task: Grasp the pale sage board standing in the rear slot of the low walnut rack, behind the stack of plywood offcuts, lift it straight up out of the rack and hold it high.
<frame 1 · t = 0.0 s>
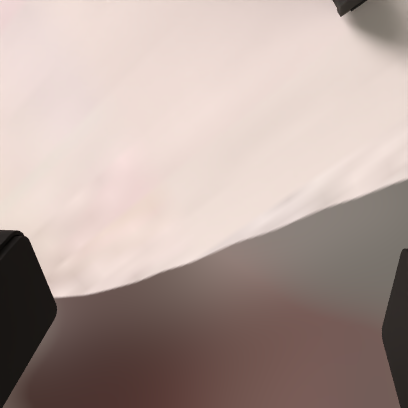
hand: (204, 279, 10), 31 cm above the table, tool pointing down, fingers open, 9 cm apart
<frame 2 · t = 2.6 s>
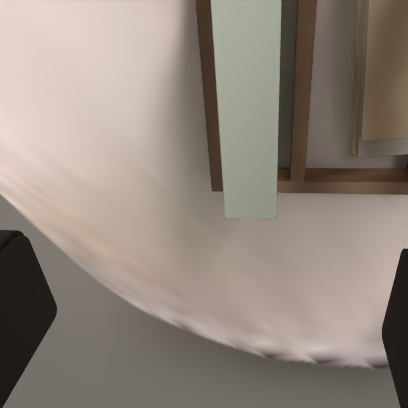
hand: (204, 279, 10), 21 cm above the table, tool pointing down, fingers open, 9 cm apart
offcut stack: (387, 49, 25), resting in rack
sheet: (257, 57, 26), resting in rack
rack: (318, 55, 26), on the table
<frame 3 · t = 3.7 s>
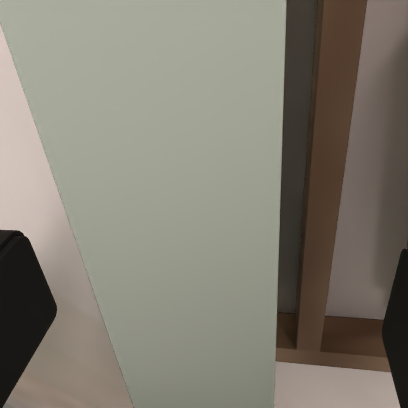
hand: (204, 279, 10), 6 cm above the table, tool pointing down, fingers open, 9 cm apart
sheet: (237, 155, 15), resting in rack
rack: (349, 157, 14), on the table
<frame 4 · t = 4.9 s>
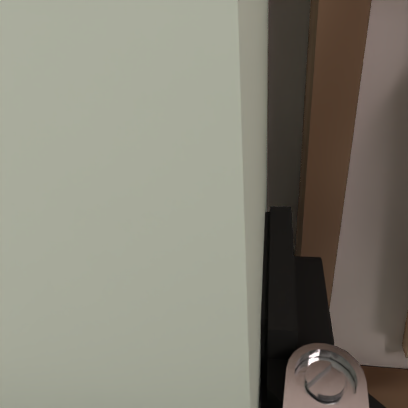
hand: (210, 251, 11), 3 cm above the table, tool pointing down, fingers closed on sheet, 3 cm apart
sheet: (221, 198, 13), resting in rack, touching gripper
rack: (347, 199, 12), on the table
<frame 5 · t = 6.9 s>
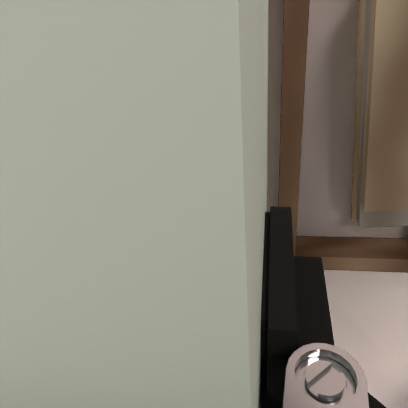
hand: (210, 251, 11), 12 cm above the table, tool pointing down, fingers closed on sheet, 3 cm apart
offcut stack: (394, 100, 20), resting in rack
sheet: (221, 198, 13), point 10 cm above the table, touching gripper
rack: (309, 109, 21), on the table
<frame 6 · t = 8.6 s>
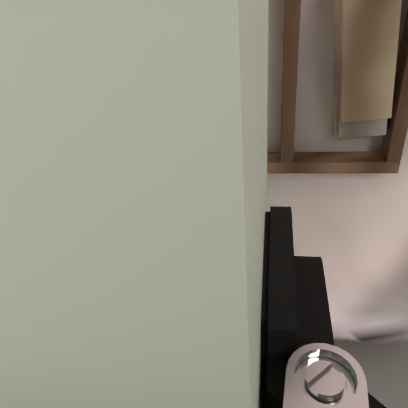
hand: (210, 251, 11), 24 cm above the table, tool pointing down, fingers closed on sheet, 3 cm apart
offcut stack: (361, 44, 29), resting in rack
sheet: (221, 198, 13), point 21 cm above the table, touching gripper
rack: (303, 52, 30), on the table
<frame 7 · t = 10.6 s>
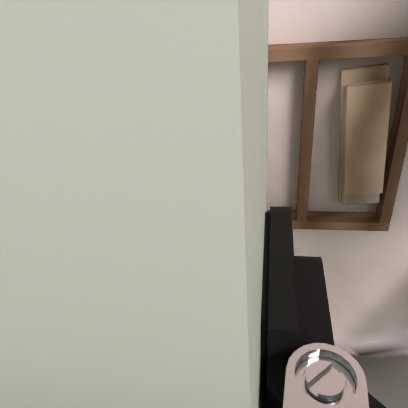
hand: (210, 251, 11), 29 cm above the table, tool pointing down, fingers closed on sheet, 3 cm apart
offcut stack: (359, 136, 39), resting in rack
sheet: (221, 198, 13), point 26 cm above the table, touching gripper
rack: (315, 141, 39), on the table
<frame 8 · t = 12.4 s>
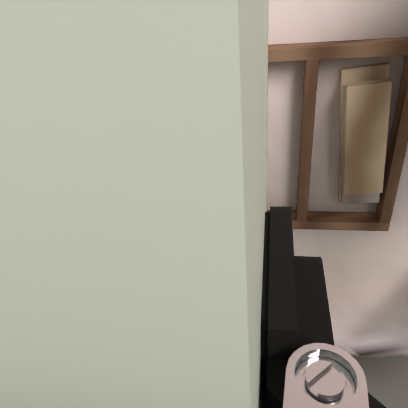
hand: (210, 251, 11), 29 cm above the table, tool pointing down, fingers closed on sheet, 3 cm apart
offcut stack: (359, 136, 39), resting in rack
sheet: (221, 198, 13), point 26 cm above the table, touching gripper
rack: (315, 141, 39), on the table
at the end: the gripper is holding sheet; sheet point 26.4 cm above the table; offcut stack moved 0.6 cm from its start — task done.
